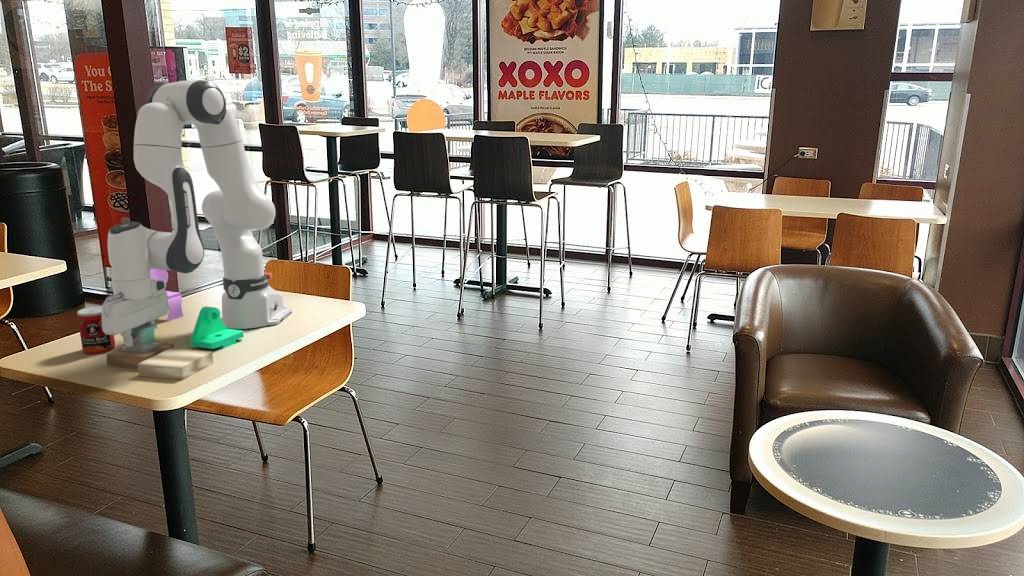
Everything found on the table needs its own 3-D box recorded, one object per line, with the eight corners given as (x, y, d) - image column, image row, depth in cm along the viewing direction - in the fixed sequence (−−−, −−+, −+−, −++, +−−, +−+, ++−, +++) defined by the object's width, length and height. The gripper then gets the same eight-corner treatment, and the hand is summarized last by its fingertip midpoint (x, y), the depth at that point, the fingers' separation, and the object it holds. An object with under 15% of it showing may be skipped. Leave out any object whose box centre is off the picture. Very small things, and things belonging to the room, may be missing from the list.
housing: (135, 345, 198) (132, 322, 196) (159, 346, 196) (156, 324, 195) (121, 351, 193) (118, 328, 191) (146, 353, 191) (143, 330, 190)
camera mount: (213, 353, 201) (209, 315, 199) (191, 349, 204) (187, 312, 202) (245, 340, 212) (242, 303, 209) (224, 336, 215) (220, 301, 212)
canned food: (79, 355, 199) (73, 314, 196) (87, 346, 206) (81, 307, 204) (112, 353, 201) (106, 312, 198) (118, 344, 208) (113, 304, 206)
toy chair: (165, 322, 228) (159, 273, 225) (144, 319, 232) (137, 270, 228) (187, 315, 236) (182, 267, 232) (166, 312, 239) (160, 265, 235)
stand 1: (138, 352, 202) (136, 341, 201) (175, 354, 199) (173, 343, 198) (107, 365, 191) (106, 354, 190) (146, 369, 189) (144, 357, 188)
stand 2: (171, 359, 196) (170, 348, 195) (213, 363, 193) (212, 351, 192) (139, 375, 184) (137, 364, 183) (183, 379, 181) (181, 367, 181)
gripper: (113, 299, 180) (121, 355, 183) (170, 280, 199) (176, 331, 203) (90, 298, 182) (98, 353, 185) (149, 278, 201) (155, 329, 204)
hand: (139, 341), depth 194 cm, fingers closed on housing, 5 cm apart
